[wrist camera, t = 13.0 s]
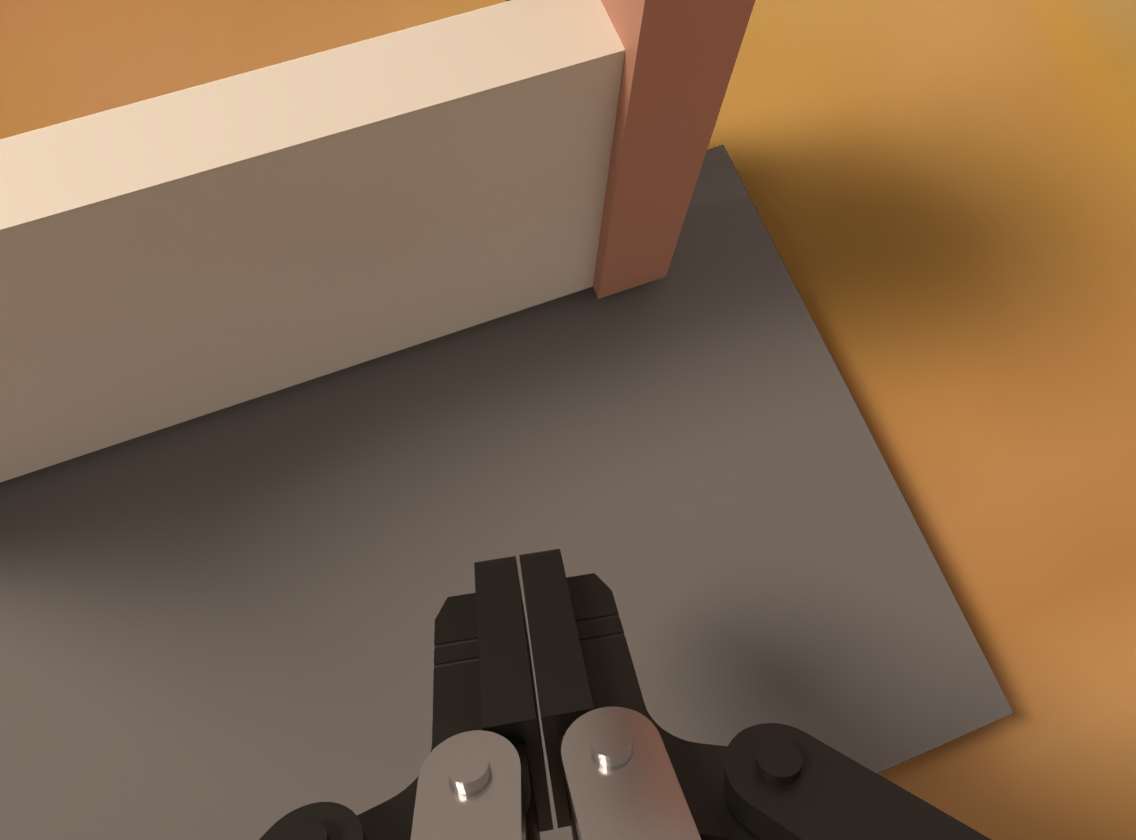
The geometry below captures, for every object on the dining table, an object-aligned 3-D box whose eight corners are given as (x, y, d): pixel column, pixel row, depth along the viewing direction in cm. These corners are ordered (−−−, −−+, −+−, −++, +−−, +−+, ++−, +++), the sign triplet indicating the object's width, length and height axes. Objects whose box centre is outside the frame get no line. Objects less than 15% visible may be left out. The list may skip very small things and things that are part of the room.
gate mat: (-147, 1213, 16) (-191, 1248, 15) (-216, 457, 20) (-253, 447, 19) (990, 710, 20) (1013, 712, 19) (716, 165, 24) (723, 144, 23)
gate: (-47, 514, 19) (-1091, 249, 7) (-61, 424, 19) (-1034, 38, 7) (666, 276, 21) (827, -222, 9) (632, 204, 22) (743, -347, 10)
